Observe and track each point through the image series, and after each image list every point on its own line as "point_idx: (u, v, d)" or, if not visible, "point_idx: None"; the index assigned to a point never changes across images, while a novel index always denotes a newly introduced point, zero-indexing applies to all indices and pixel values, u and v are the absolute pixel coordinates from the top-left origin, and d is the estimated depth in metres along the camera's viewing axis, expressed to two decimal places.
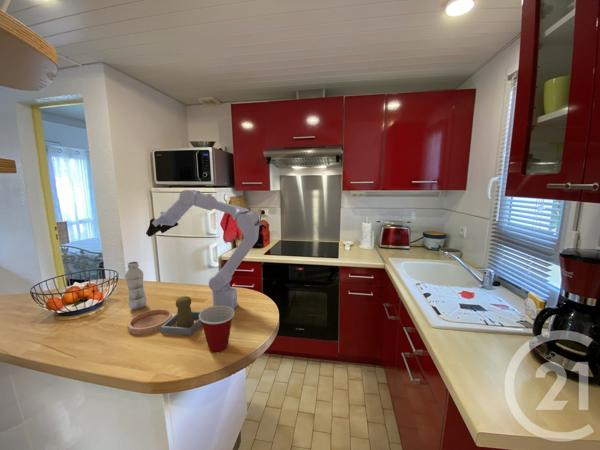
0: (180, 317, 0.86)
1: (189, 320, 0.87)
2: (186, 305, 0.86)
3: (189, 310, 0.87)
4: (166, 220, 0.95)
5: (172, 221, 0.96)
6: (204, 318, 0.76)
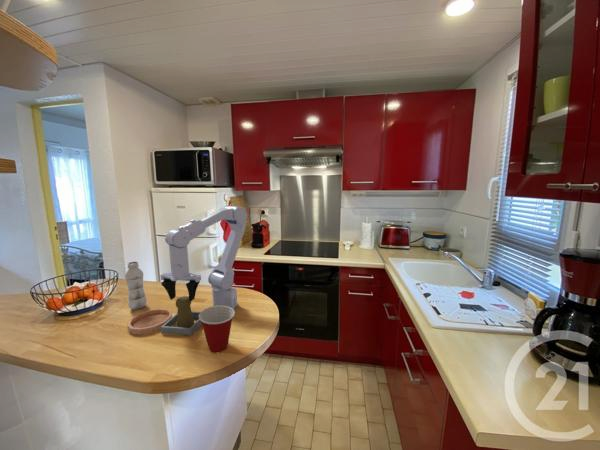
0: (180, 317, 0.86)
1: (189, 320, 0.87)
2: (186, 305, 0.86)
3: (189, 310, 0.87)
4: (188, 273, 0.86)
5: None
6: (204, 318, 0.76)
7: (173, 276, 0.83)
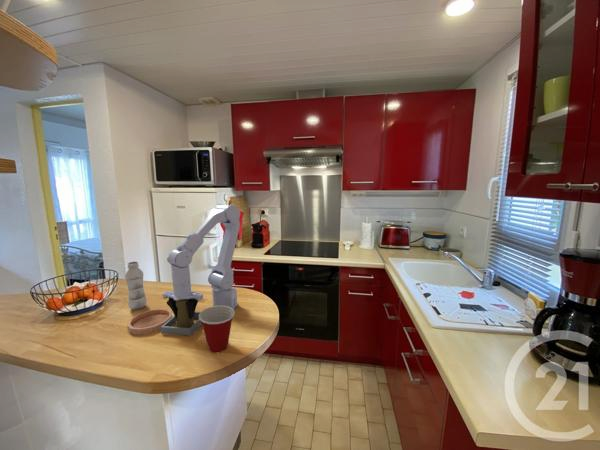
0: (180, 317, 0.86)
1: (189, 320, 0.87)
2: None
3: None
4: (190, 291, 0.87)
5: None
6: (204, 318, 0.76)
7: (175, 295, 0.84)
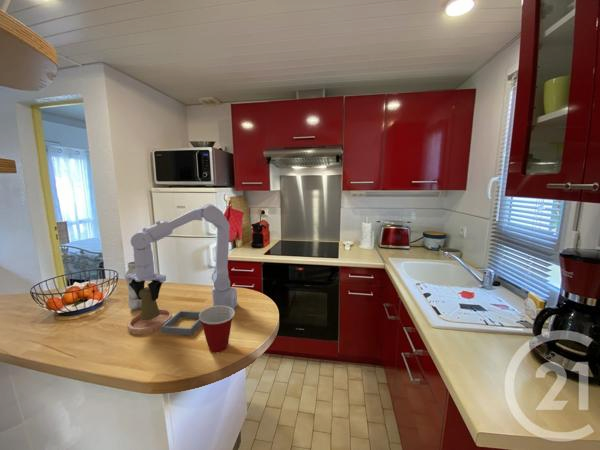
0: (143, 307, 0.87)
1: (153, 310, 0.88)
2: (148, 295, 0.87)
3: None
4: (153, 273, 0.88)
5: None
6: (204, 318, 0.76)
7: (137, 277, 0.85)
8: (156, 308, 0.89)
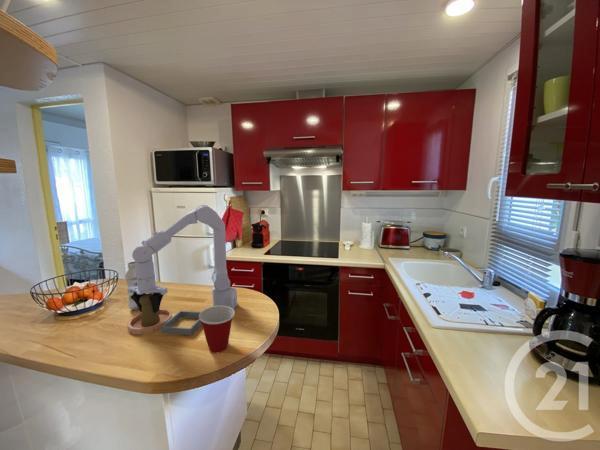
0: (143, 314, 0.87)
1: (153, 317, 0.88)
2: (149, 302, 0.87)
3: None
4: (155, 285, 0.88)
5: None
6: (204, 318, 0.76)
7: (139, 289, 0.86)
8: (156, 315, 0.89)
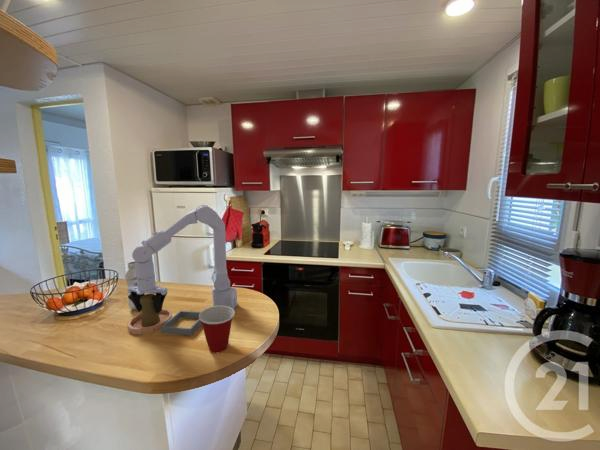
0: (143, 314, 0.87)
1: (153, 317, 0.88)
2: (149, 302, 0.87)
3: (153, 307, 0.88)
4: (155, 286, 0.88)
5: None
6: (204, 318, 0.76)
7: (139, 289, 0.86)
8: (157, 315, 0.90)
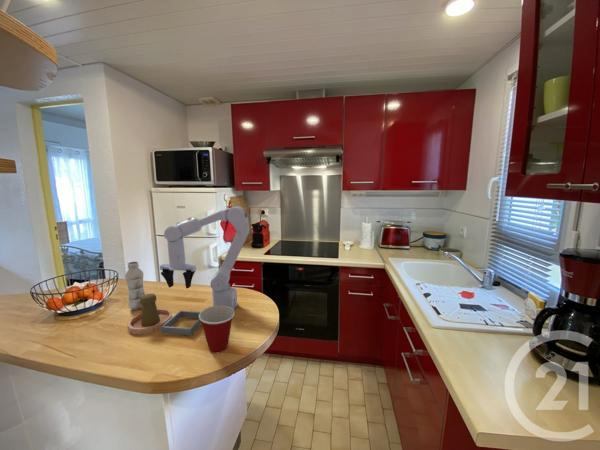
0: (143, 314, 0.87)
1: (153, 317, 0.88)
2: (149, 302, 0.87)
3: (153, 307, 0.88)
4: None
5: None
6: (204, 318, 0.76)
7: (171, 266, 0.94)
8: (157, 315, 0.90)
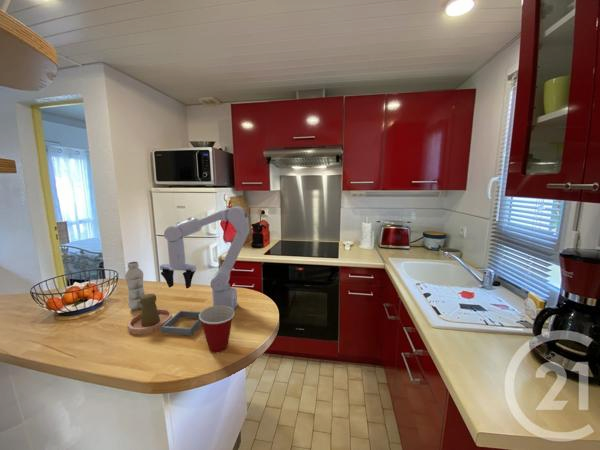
0: (143, 314, 0.87)
1: (153, 317, 0.88)
2: (149, 302, 0.87)
3: (153, 307, 0.88)
4: None
5: None
6: (204, 318, 0.76)
7: (171, 266, 0.94)
8: (157, 315, 0.90)
